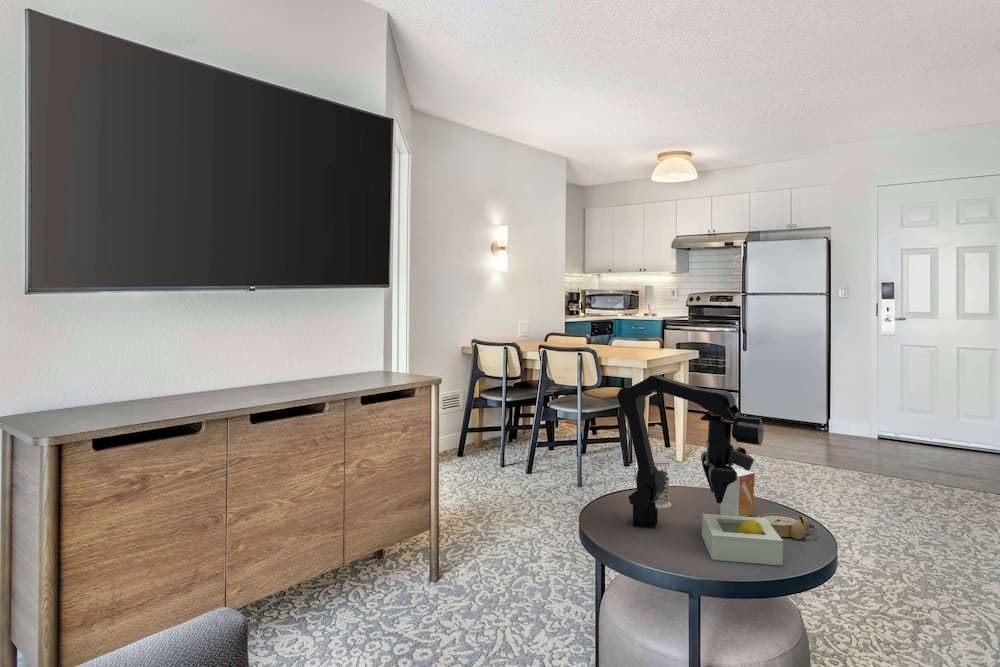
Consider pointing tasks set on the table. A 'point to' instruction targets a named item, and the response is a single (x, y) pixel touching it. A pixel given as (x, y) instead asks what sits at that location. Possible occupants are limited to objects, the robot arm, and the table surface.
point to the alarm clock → (789, 525)
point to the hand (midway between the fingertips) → (716, 497)
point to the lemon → (750, 527)
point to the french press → (663, 500)
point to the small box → (739, 495)
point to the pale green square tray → (741, 540)
